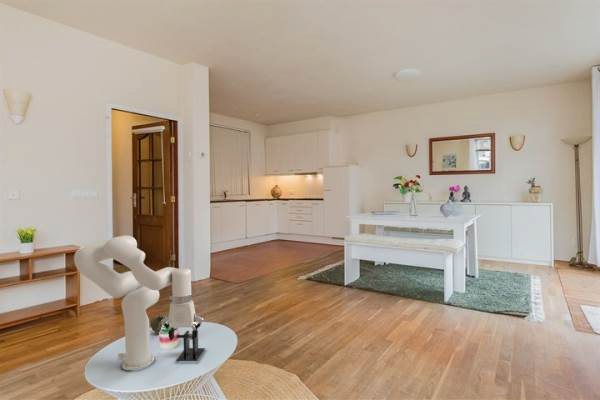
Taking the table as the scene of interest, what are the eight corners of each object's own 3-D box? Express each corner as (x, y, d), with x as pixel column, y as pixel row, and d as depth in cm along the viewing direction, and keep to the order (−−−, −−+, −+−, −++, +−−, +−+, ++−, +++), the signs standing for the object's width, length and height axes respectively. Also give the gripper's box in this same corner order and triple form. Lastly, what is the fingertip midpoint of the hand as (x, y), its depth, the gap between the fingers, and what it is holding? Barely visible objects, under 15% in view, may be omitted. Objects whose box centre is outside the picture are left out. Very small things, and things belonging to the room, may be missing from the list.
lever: (187, 339, 141) (188, 333, 142) (176, 339, 141) (176, 333, 142) (197, 339, 152) (197, 333, 153) (186, 339, 152) (186, 333, 153)
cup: (147, 335, 175) (146, 319, 175) (158, 329, 181) (158, 315, 181) (157, 337, 172) (157, 322, 171) (169, 332, 178) (168, 317, 178)
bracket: (197, 362, 146) (196, 338, 146) (176, 362, 146) (175, 338, 146) (205, 350, 157) (204, 327, 157) (185, 350, 157) (185, 327, 157)
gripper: (157, 301, 139) (159, 342, 139) (199, 301, 138) (200, 342, 139) (165, 295, 146) (166, 335, 147) (205, 295, 146) (206, 334, 146)
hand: (183, 338), depth 143 cm, fingers open, 9 cm apart
